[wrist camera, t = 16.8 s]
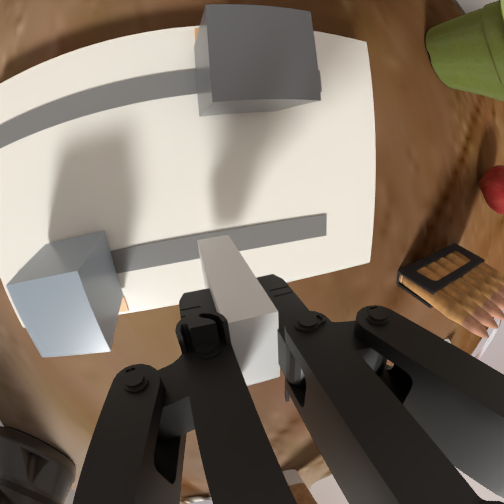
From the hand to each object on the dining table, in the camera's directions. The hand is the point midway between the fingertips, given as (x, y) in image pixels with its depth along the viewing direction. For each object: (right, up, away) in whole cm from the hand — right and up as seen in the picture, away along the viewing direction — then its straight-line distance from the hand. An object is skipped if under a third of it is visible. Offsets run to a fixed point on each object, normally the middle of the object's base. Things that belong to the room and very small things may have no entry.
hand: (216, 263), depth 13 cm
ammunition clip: (+21, -1, +13) cm, 25 cm away
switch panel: (-3, +6, +3) cm, 7 cm away
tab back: (-8, 0, 0) cm, 8 cm away
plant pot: (+22, +21, +4) cm, 30 cm away
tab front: (+1, +10, -1) cm, 10 cm away
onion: (+30, +9, +12) cm, 34 cm away
